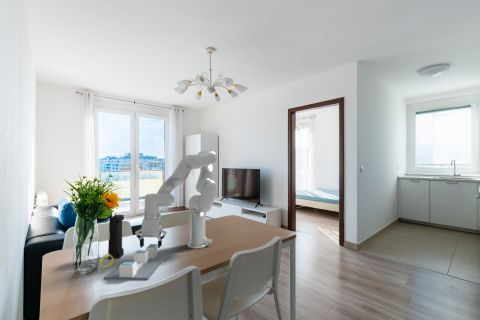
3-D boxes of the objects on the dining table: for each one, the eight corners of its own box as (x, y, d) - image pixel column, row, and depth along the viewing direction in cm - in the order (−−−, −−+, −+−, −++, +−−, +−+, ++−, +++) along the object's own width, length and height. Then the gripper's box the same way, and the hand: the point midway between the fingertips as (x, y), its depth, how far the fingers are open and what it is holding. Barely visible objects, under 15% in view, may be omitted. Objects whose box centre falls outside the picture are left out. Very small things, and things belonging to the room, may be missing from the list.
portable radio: (113, 253, 131) (113, 210, 131) (124, 253, 132) (124, 210, 132) (106, 259, 123) (107, 213, 123) (118, 259, 124) (118, 213, 124)
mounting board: (161, 262, 121) (162, 249, 121) (147, 279, 103) (147, 265, 103) (124, 261, 121) (124, 249, 121) (103, 279, 103) (103, 265, 103)
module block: (157, 254, 130) (157, 243, 130) (153, 259, 124) (153, 247, 124) (150, 254, 130) (150, 243, 130) (145, 259, 124) (145, 247, 124)
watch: (102, 270, 112) (101, 258, 112) (99, 268, 114) (98, 256, 114) (114, 264, 117) (113, 253, 117) (112, 263, 119) (111, 252, 118)
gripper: (169, 215, 131) (168, 245, 130) (139, 214, 131) (138, 244, 131) (164, 218, 123) (163, 250, 123) (132, 217, 123) (131, 249, 123)
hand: (150, 247), depth 127 cm, fingers open, 9 cm apart
